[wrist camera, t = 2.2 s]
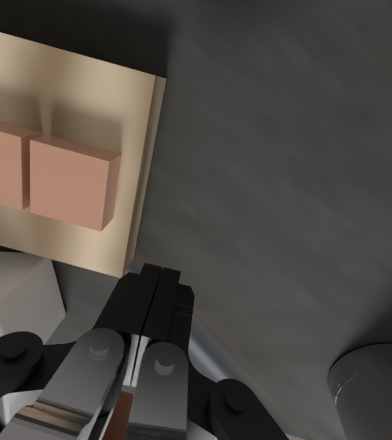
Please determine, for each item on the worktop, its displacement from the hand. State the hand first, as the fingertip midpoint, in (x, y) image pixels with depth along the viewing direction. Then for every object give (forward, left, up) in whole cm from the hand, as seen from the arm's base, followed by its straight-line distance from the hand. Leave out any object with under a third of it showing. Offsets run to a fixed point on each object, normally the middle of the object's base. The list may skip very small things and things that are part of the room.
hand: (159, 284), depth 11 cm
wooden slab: (+9, -1, -11) cm, 14 cm away
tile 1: (+7, -1, -8) cm, 10 cm away
